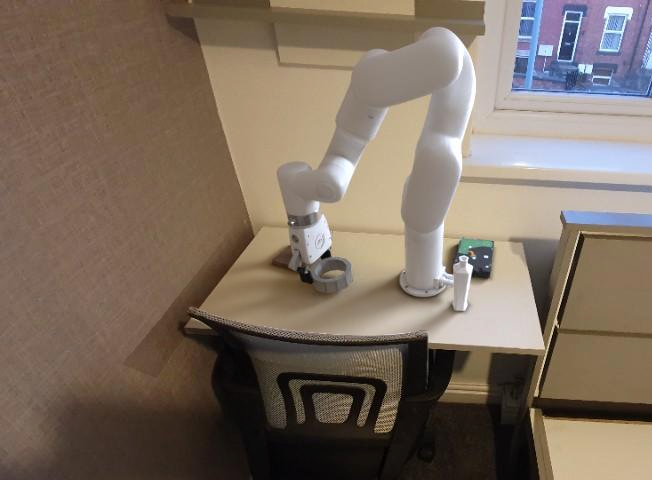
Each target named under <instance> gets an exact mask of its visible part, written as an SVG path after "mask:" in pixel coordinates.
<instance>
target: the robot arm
mask: <svg viewBox="0 0 652 480" xmlns="http://www.w3.org/2000/svg"><path fill="white" fill-rule="evenodd" d="M476 82H477V81H476V73H475V67H474V64H473V60H472V57H471V54H470V53H469V51H468V49H467V47H466V46H465V44H464V43H463V41H462V40H461V39H460V38H459V37H458V36H457V35H456V34H455V33H454V32H453V31H451V30H450V29H448V28H446V27H443V26H433V27H430V28H429V29H426V30H425V31H424V32H423V33H422V34H421V35H420V36H419V37H418V40H417V41H416V42H414V43H410V44H408V45H405V46H403V47H400V48H397V49H394V50H391V51H389V50H386V49H383V48H373V49H369V50H368V51H366V52H365V53H364V54H363V55H362V56H361V57H360V58H359V60H358V61H357V62H356V64H355V65H354V67H353V69H352V72H351V76H350V82H349V85H348V88H347V90H346V93H345V95H344V97H343V99H342V101H341V104H340V107H339V109H338V111H337V112H336V116H335V120H334V122H335V129H334V132H333V134H332V138H331V139H330V142H329V144H328V147H327V149H326V151H325V153H324V155H323V158H322V160H321V161H320V163H319V164H318V167H317V168H315V169H313V168H312V166H311V165H310V164H309V163H307V162H306V161H305V162H304V161H298V160H295V161H289V162H286V163H283V164H281V165H280V166H279V167H278V168H277V170H276V179H277V182H278V186H279V189H280V193H281V197H282V201H283V205H284V209H285V214H286V217H287V223H286V224H287V226H288V238H289V245H291V250H292V254H293V256H292V259H291V261H290V263H289V266H288V267H289V268H290V269H289V270H291V269H292V271H294V272H297V273H298V274H299V278H300V282H301V283H303V284H308V285H313V280H312V275H311V270H310V268H309V265H310V264H312V263H314V262H315V261H316V260H317V259H318V258H319V257H320V258H319V259H320V260H323V259H325V258H330V257H333V256H332V252H331V250H332V244H333V238H332V237H333V234H334V233H333V231H334V230H333V229H330V228H329V223H328V221H327V218H326V217H325V214H324V213H323V212H322V210H321V206H320V205H321V204H320V203H322V204H335V203H338V202H340V201H342V199H343V198H344V197H345V195H346V193H347V190H348V187H349V184H350V182H351V179H352V177H353V175H354V173H355V171H356V168H357V165H358V164H359V162H360V159H361V157H362V155H363V154H364V152H365V150H366V148H367V146H368V144H369V143H370V142H372V141H373V140H374V139H375V138H376V136H377V133H378V131H379V130H380V127H381V125H382V123H383V121H384V119H385V117H386V115H387V113H388V111H389V109H390V108H391V107H395V106H398V105H401V104H405V103H407V102H411V101H414V100H417V99H420V98H423V97H426V96H429V95H430V100H429V104H428V106H427V107H428V108H427V113H426V116H425V119H424V123H423V126H422V129H421V131H420V135H419V137H418V140H417V142H416V146H415V150H414V159H413V164H412V169H411V172H410V174H409V175H408V176H407V177H406V179H405V181H404V184H403V190H402V193H401V194H402V195H401V204H400V216H401V221H402V223H403V227H404V229H403V230H404V231H403V232H404V233H403V234H404V235H403V236H404V270H403V271H402V272H401V273H400V274H399V285H400V287H401V289H402V290H403V291H404V292H405V293H407V294H408V295H411V296H414V297H418V298H429V297H433V296H436V295H438V294H440V293H442V292H443V291H444V290H445V289H446V287H447V288H450V289H454V278H453V274H451V273H450V274H449V273H447V271H446V266H445V265H443V252H444V251H443V250H444V231H445V220H446V218H447V216H448V213H449V211H450V208H451V205H452V202H453V199H454V198H455V194H456V191H457V188H458V186H459V183H460V180H461V176H462V173H463V172H462V171H463V156H462V144H463V140H464V137H465V134H466V130H467V127H468V124H469V120H470V117H471V114H472V110H473V108H474V104H475V103H474V102H475V97H476V89H477V87H476V85H477V83H476ZM319 259H318V260H319ZM318 260H317V261H318ZM317 261H316V262H317ZM302 262H304V263H305V266H304V268H302V267H301V265H302ZM316 262H315V263H316ZM315 263H314V264H315Z"/></svg>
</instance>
